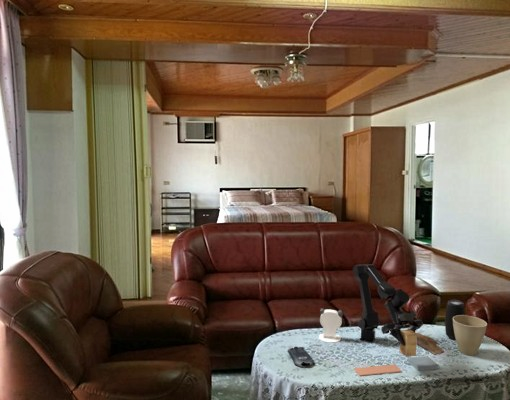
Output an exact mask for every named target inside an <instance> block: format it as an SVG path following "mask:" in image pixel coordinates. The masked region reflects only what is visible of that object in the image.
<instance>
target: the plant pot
mask: <svg viewBox="0 0 510 400" xmlns="http://www.w3.org/2000/svg"><path fill="white" fill-rule="evenodd" d="M453 327H454V333H455V338H456V340H455V341H456V344H457V347H458V352H459V353H461V354H463V355H465V356H476V355H477V353H478V351H479V350H480V347H481V344H482V343H483V340H484V337H485V334H486V331H487V327H488V323H487V321H485V320H484V319H481V318H479V317H476V316H470V315H466V314H465V315H458V316H454V317H453Z"/></svg>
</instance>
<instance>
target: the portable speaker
mask: <svg viewBox="0 0 510 400" xmlns="http://www.w3.org/2000/svg"><path fill="white" fill-rule="evenodd" d="M458 315H466V310H465V303H464V302H462V301H461V300H458V299H451V300H447V304H446V308H445V315H444V316H445V319H444V329H445V335H446V337H447V338H448V339H449V340H452V341H456V338H455V333H454V327H453V317H454V316H458Z"/></svg>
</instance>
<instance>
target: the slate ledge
mask: <svg viewBox="0 0 510 400" xmlns="http://www.w3.org/2000/svg"><path fill="white" fill-rule="evenodd" d="M407 358H408V359H407V362H408V364H409V365H411V366H412V367H413V368H414V369H415V370H416V371H418V372H419V371H430V370H438V369H439V363H438V362H436V361H435V360H434V359H432V358H431V357H430V356H417V357H415V356H414V357H407Z"/></svg>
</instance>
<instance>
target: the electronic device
mask: <svg viewBox="0 0 510 400" xmlns="http://www.w3.org/2000/svg"><path fill="white" fill-rule="evenodd" d="M287 353H288V354H289V357H290V358H291V360H292V362H293V364H294V365H295V366H297V367H300V368H303V369H305V368H306V367H307V368H308V367H309V366H311V365H313V363H314V360H313V357H312V356H311V355H310V354H309V353H308V351H306V350H305V347H304V346H300V347H299V346H294V347H290V348H289V347H288V348H287ZM303 362H304V363H303ZM301 364H302V365H301ZM307 364H309V365H308V366H306V365H307Z"/></svg>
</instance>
